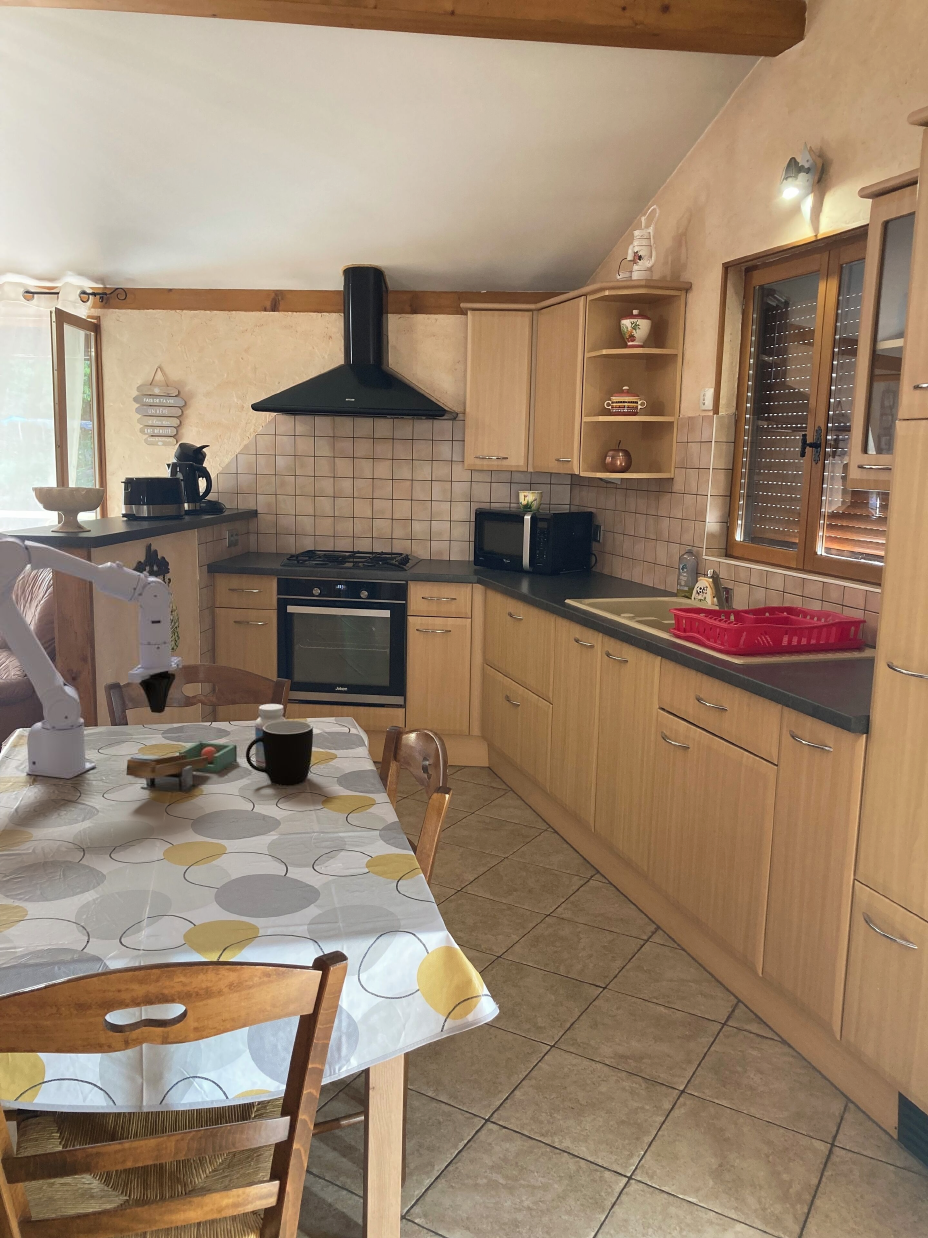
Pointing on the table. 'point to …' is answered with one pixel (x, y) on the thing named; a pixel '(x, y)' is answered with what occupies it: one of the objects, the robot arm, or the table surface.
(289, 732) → the mug
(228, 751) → the dish
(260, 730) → the pill bottle
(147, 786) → the stand
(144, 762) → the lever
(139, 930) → the table surface
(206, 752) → the ball
